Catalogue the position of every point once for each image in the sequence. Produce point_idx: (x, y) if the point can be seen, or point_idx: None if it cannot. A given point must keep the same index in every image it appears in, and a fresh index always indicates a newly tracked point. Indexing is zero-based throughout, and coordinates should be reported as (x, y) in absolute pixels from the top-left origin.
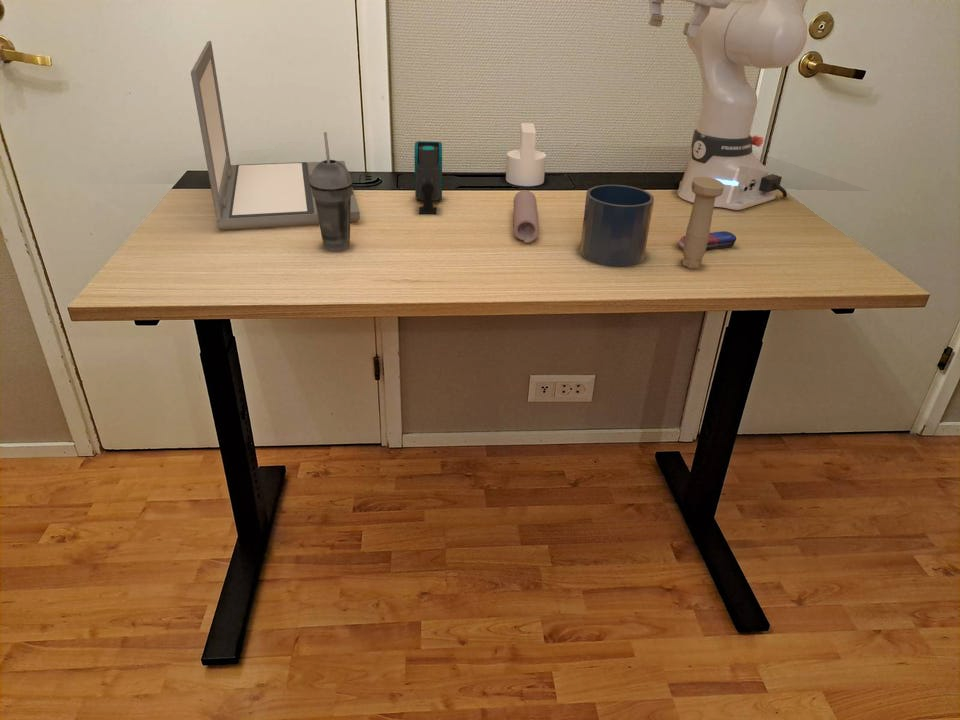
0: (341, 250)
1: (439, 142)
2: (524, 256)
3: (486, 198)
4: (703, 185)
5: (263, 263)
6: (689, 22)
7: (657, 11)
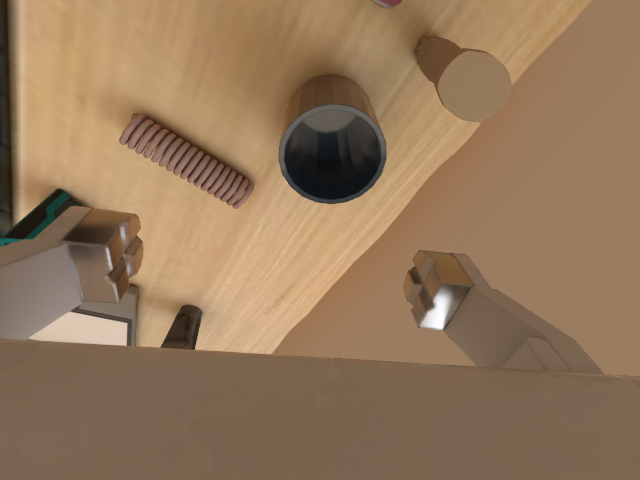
0: (201, 312)
1: (3, 241)
2: (281, 209)
3: (61, 133)
4: (474, 112)
5: (205, 346)
6: (448, 335)
7: (51, 282)
